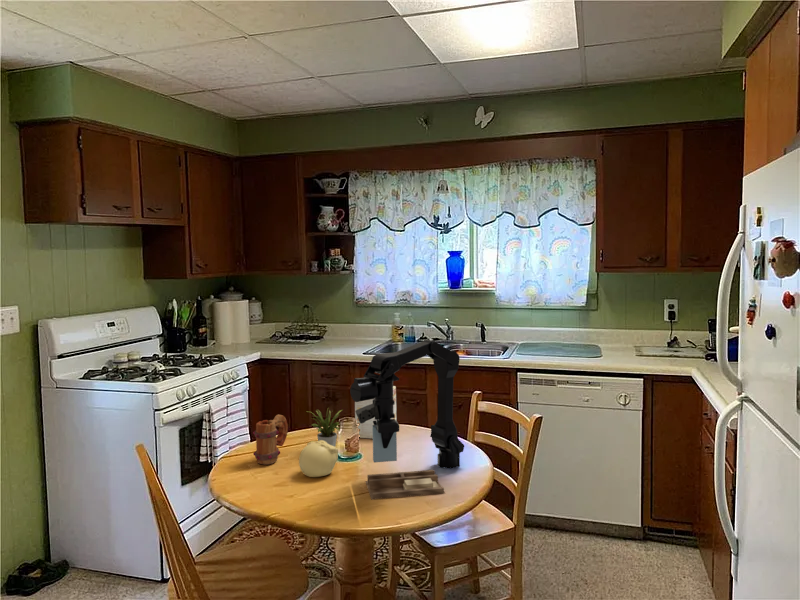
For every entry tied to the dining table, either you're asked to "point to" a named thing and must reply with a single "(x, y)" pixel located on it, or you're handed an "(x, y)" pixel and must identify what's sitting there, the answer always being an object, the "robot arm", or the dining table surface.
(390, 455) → the light blue block
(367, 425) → the coffeecake box
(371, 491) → the rack
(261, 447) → the mug
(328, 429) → the house plant
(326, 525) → the dining table surface
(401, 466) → the dining table surface
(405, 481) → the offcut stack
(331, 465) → the sculpture
